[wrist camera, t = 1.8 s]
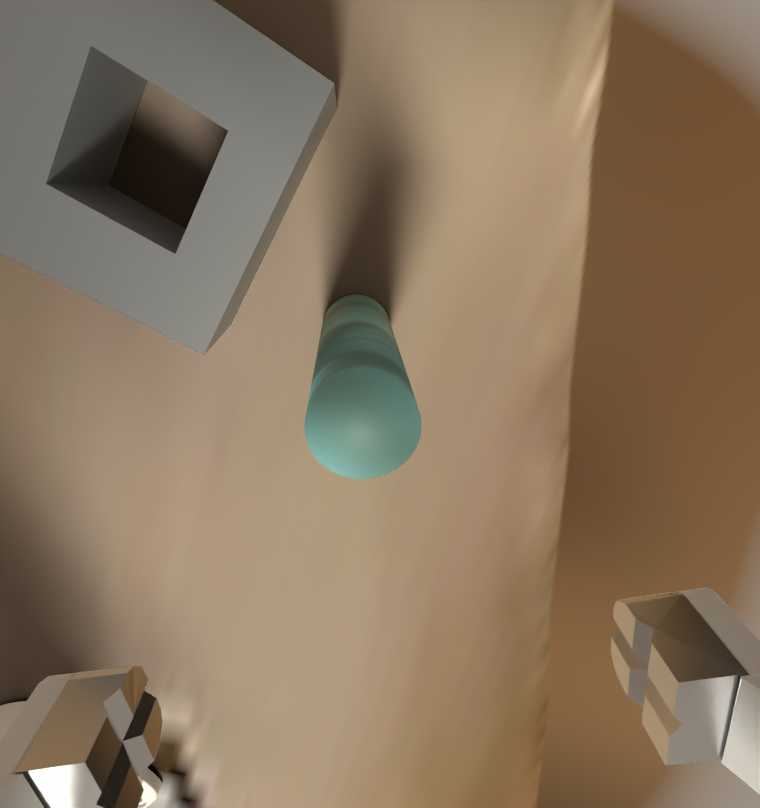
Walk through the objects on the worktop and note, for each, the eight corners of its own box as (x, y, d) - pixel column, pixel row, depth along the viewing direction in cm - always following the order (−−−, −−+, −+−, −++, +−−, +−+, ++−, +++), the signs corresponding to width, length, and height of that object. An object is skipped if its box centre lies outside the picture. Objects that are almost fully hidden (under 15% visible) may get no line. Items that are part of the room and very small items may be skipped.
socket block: (230, 324, 30) (203, 355, 24) (-173, 114, 25) (-324, 91, 19) (336, 106, 26) (334, 83, 20) (-117, -199, 21) (-288, -343, 15)
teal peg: (368, 370, 31) (383, 495, 18) (310, 339, 30) (284, 448, 17) (401, 315, 30) (443, 407, 17) (343, 281, 29) (340, 351, 16)
